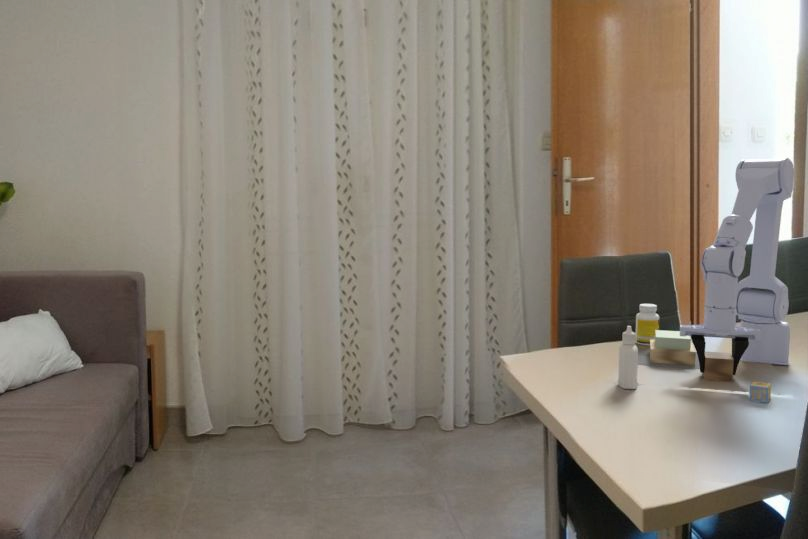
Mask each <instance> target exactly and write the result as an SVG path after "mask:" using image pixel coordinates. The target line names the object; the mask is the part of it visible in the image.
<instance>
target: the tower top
mask: <svg viewBox="0 0 808 539" xmlns="http://www.w3.org/2000/svg"><path fill="white" fill-rule="evenodd" d="M691 342H692V340H691V336H680V330H661V329H659V330H655V347H656V348H660V349H676V350H690V347H691Z"/></svg>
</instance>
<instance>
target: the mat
mask: <svg viewBox="0 0 808 539" xmlns="http://www.w3.org/2000/svg"><path fill="white" fill-rule="evenodd" d="M638 366H649V367H660V368H661V367H663V368H678V369H688V370H689V369H690V370H693V369H694V370H700V365H699V359H698V355H697V352H696V358H695V365H680V364H666V363H651V362H650V348H638Z"/></svg>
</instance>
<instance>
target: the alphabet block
mask: <svg viewBox="0 0 808 539" xmlns="http://www.w3.org/2000/svg"><path fill="white" fill-rule="evenodd" d="M771 391H772V383H769V382H762V381H753V382H752V383H751V384H750V385H749V401H750V402H755V403H756V402H757V403H764V404H768V403H769V401H771V398H772V397H771V396H772V394H771V393H772V392H771Z"/></svg>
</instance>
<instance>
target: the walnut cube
mask: <svg viewBox="0 0 808 539" xmlns="http://www.w3.org/2000/svg"><path fill="white" fill-rule="evenodd" d="M704 362H705V370H704V373H702V376H703V379H704V380H706V381H716V382H729V383H730V382H731V383H733V380H734V378H733V377H734V375H733V363H734V359H733V357H732V353H731V352H720V351H717V352H716V351H705V356H704Z"/></svg>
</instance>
